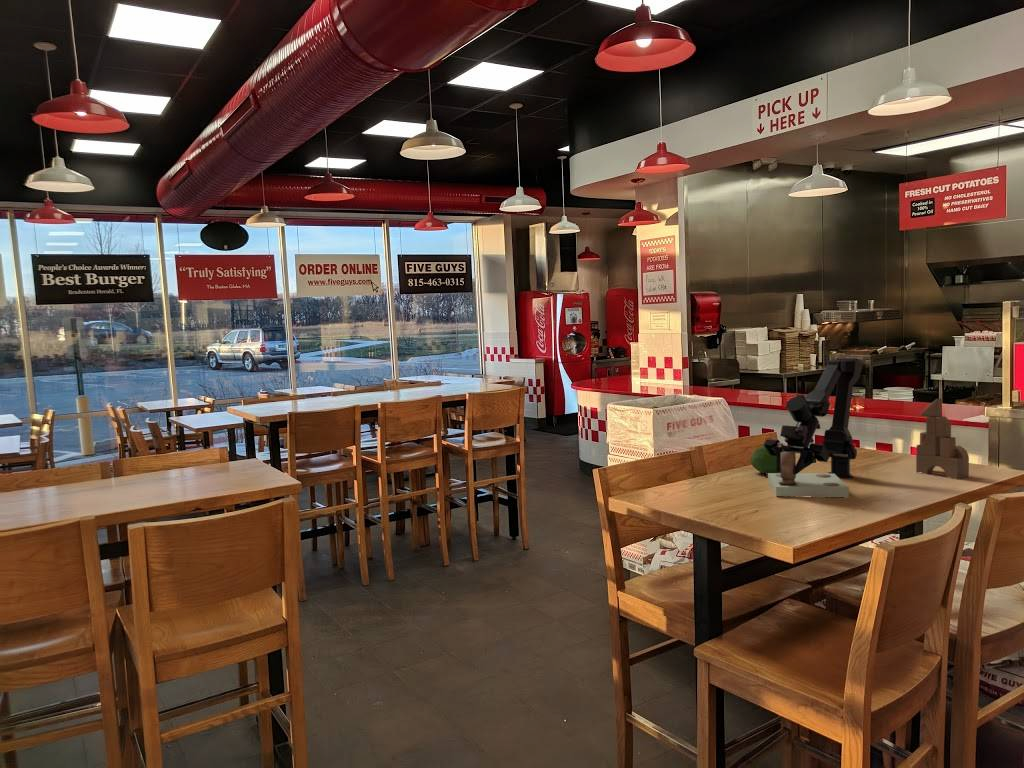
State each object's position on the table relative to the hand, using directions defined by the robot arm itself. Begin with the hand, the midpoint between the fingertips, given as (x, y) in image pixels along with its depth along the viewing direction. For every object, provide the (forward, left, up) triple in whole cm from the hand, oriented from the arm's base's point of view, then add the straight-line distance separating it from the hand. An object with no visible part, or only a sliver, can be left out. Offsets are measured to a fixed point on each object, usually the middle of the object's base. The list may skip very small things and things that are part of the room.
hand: (785, 472), depth 216 cm
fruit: (-30, 0, -7) cm, 31 cm away
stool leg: (-1, +1, -7) cm, 7 cm away
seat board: (-7, +7, -7) cm, 12 cm away
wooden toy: (-32, +52, -7) cm, 61 cm away
